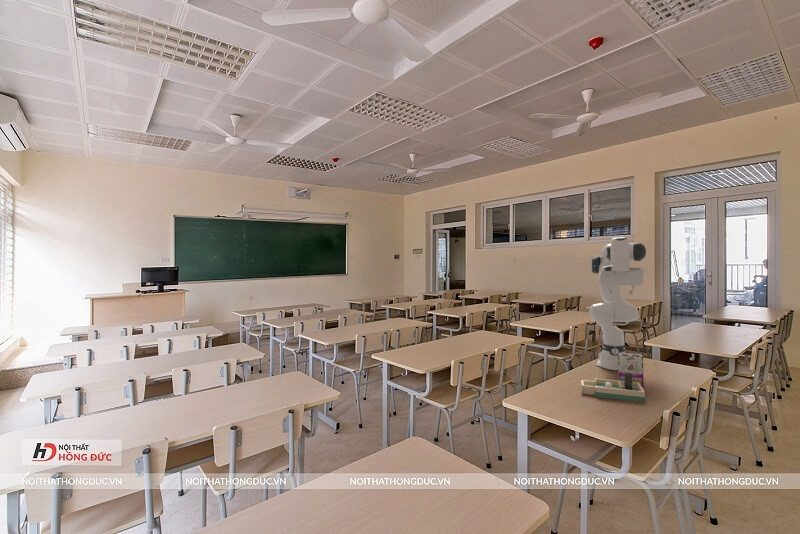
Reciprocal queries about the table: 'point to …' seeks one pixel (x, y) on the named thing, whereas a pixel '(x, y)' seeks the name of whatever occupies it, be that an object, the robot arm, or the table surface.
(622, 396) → the pitch
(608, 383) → the ball
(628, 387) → the rod
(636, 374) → the candy bar box
